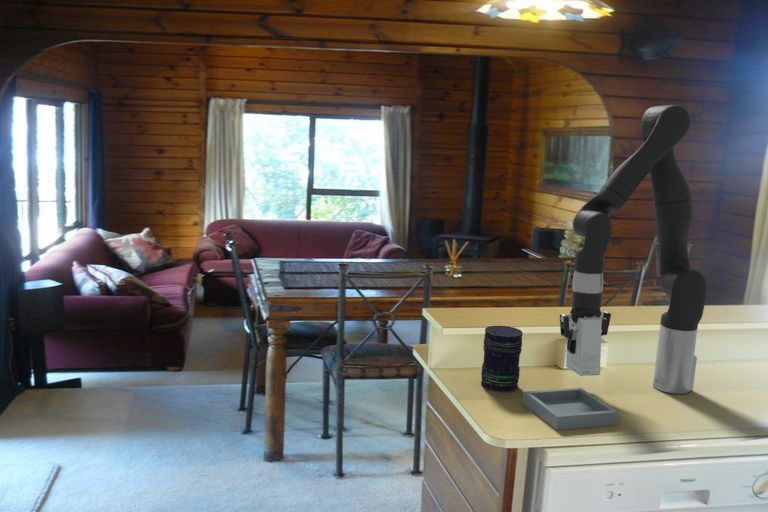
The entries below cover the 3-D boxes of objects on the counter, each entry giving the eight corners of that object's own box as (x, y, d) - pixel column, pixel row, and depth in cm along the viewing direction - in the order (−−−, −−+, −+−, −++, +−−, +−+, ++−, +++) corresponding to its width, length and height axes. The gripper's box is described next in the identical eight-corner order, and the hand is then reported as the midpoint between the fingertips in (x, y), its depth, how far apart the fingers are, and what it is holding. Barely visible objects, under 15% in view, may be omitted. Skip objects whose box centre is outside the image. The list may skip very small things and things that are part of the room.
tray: (579, 399, 188) (580, 387, 187) (616, 424, 173) (618, 411, 172) (522, 403, 183) (523, 391, 182) (556, 430, 168) (557, 416, 167)
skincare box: (600, 375, 190) (604, 319, 187) (578, 377, 188) (582, 320, 186) (584, 365, 198) (588, 311, 195) (563, 366, 196) (567, 311, 194)
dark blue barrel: (507, 378, 201) (511, 324, 198) (525, 391, 192) (530, 335, 189) (474, 380, 198) (478, 326, 195) (490, 393, 189) (495, 337, 186)
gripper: (603, 284, 195) (598, 345, 198) (554, 286, 190) (550, 349, 193) (620, 290, 188) (615, 354, 191) (570, 293, 183) (566, 358, 186)
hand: (582, 351), depth 192 cm, fingers closed on skincare box, 6 cm apart
